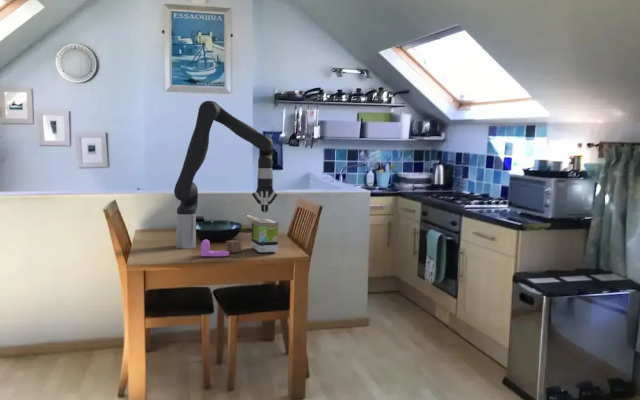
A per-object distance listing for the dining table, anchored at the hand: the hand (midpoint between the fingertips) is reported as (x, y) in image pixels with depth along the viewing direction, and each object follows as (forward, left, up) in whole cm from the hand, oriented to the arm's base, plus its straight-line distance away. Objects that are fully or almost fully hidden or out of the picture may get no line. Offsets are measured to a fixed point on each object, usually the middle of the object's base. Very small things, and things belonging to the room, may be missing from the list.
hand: (264, 212), depth 268 cm
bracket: (-21, -16, -19) cm, 33 cm away
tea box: (0, 0, -19) cm, 19 cm away
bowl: (-12, +56, -19) cm, 60 cm away
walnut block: (-13, -5, -17) cm, 21 cm away
